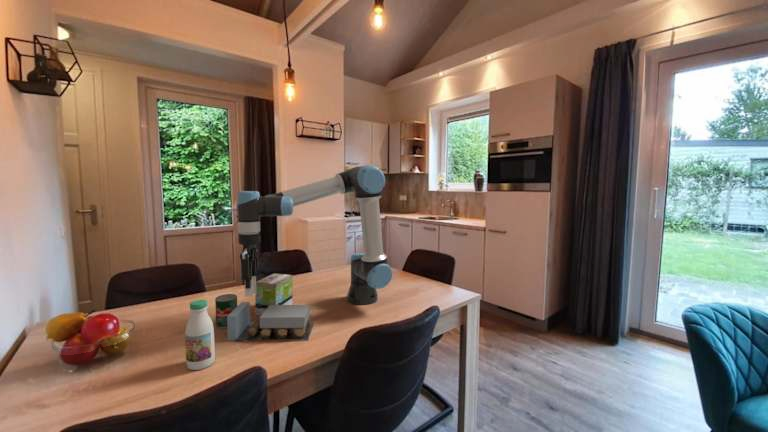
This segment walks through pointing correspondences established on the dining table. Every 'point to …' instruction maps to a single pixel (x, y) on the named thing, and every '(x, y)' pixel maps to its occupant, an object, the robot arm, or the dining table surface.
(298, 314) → the slab
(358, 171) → the robot arm
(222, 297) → the canned tomato
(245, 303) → the block
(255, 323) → the roller
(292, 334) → the roller bed
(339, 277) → the dining table surface
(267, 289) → the tea box
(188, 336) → the milk bottle
